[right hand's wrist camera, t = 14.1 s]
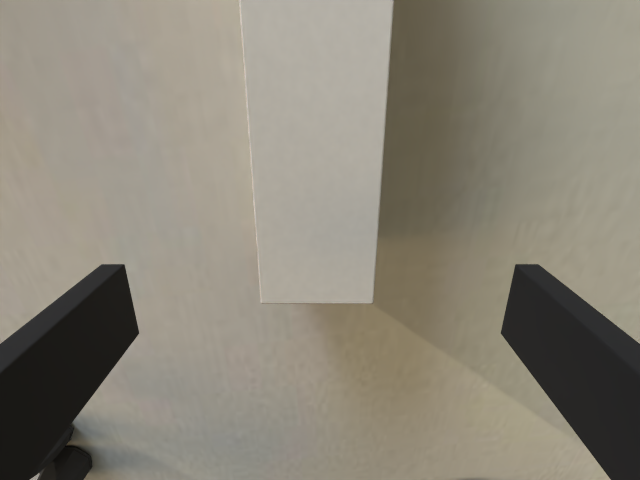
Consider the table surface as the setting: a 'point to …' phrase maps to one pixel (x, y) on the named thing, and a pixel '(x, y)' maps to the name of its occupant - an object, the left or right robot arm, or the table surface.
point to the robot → (64, 461)
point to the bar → (316, 143)
